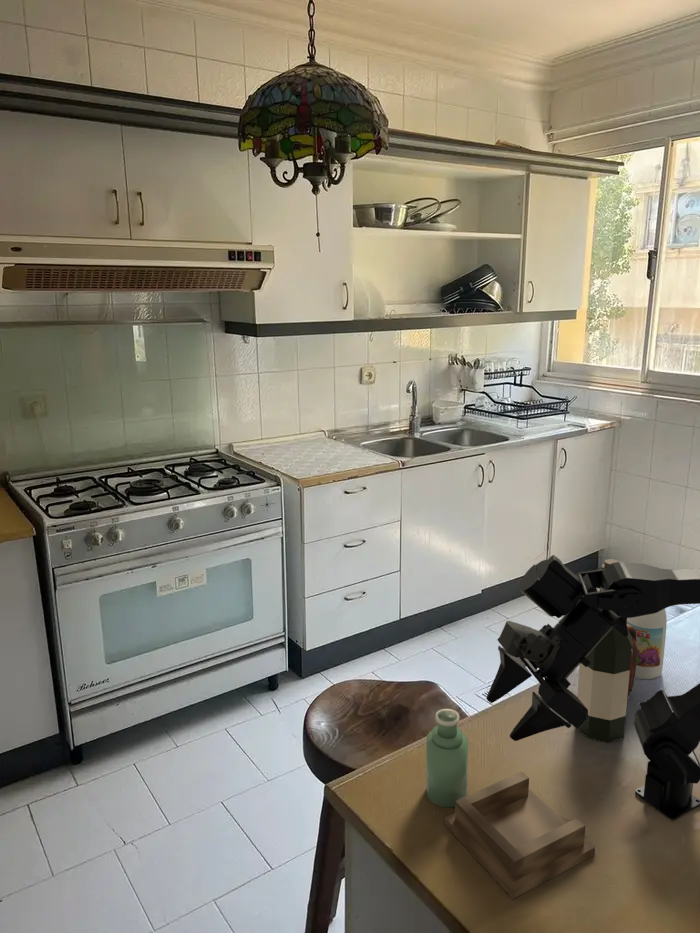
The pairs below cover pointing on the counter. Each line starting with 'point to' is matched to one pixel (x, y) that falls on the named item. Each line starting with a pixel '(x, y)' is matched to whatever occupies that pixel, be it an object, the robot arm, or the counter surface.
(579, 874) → the counter surface
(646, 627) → the milk bottle
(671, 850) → the counter surface
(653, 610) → the robot arm
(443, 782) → the green bottle
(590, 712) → the wine bottle
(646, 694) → the counter surface
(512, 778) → the bottle rest
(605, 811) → the counter surface
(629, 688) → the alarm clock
